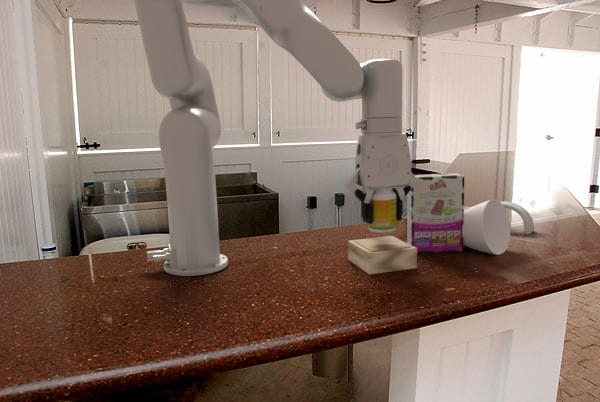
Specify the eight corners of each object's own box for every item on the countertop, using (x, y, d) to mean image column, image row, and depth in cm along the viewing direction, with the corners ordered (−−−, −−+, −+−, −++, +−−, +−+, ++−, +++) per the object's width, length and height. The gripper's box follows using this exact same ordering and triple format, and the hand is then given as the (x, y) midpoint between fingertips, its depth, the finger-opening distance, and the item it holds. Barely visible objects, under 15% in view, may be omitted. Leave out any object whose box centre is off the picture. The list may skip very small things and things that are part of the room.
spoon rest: (429, 226, 127) (430, 199, 126) (447, 218, 136) (448, 193, 135) (525, 239, 113) (527, 209, 111) (538, 229, 122) (540, 201, 120)
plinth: (369, 274, 90) (369, 252, 89) (348, 259, 99) (347, 239, 99) (416, 268, 93) (417, 247, 92) (391, 254, 102) (391, 234, 102)
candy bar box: (455, 245, 107) (458, 172, 104) (463, 252, 102) (466, 175, 99) (405, 247, 107) (406, 173, 104) (410, 253, 102) (411, 176, 99)
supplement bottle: (396, 233, 92) (396, 183, 90) (367, 233, 93) (367, 183, 91) (396, 227, 97) (396, 179, 95) (369, 226, 98) (368, 179, 96)
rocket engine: (416, 198, 113) (488, 188, 100) (442, 223, 119) (514, 217, 106) (403, 240, 109) (477, 237, 95) (431, 265, 114) (504, 264, 101)
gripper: (348, 129, 85) (349, 229, 89) (432, 125, 90) (430, 220, 94) (332, 128, 92) (334, 221, 96) (411, 125, 97) (410, 213, 101)
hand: (382, 219), depth 95 cm, fingers closed on supplement bottle, 5 cm apart
